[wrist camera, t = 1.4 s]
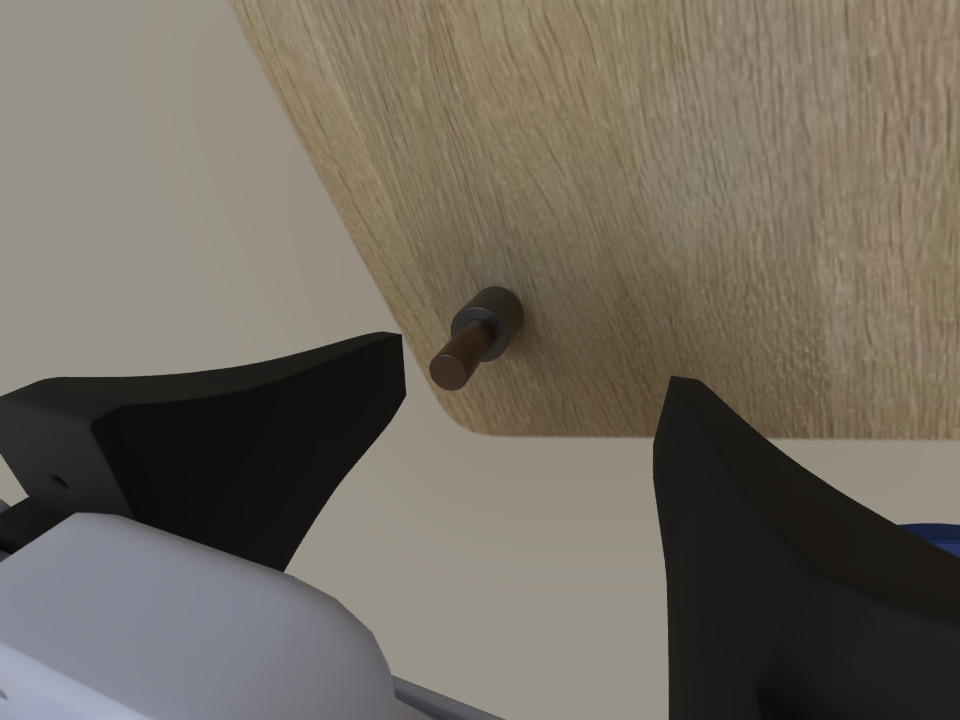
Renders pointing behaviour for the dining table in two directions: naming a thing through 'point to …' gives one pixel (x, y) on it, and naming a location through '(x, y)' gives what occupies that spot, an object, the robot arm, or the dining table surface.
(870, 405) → the dining table surface
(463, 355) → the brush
